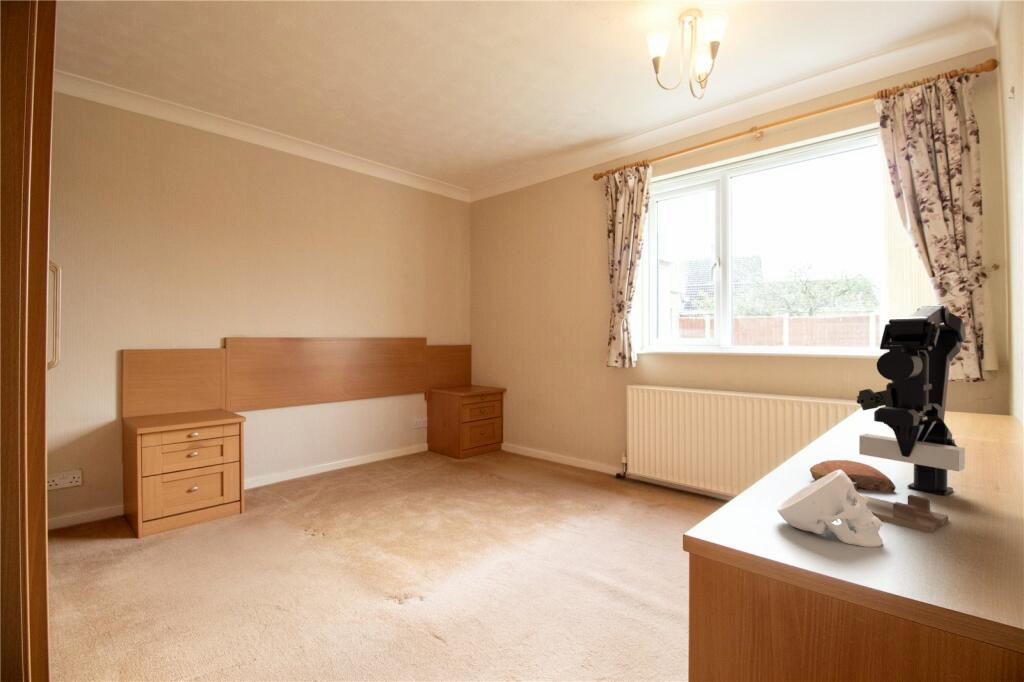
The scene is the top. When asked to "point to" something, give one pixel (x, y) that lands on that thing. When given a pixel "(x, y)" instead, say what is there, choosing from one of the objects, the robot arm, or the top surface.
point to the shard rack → (907, 512)
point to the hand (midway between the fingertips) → (909, 455)
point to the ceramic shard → (855, 474)
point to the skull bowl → (833, 511)
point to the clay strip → (914, 452)
